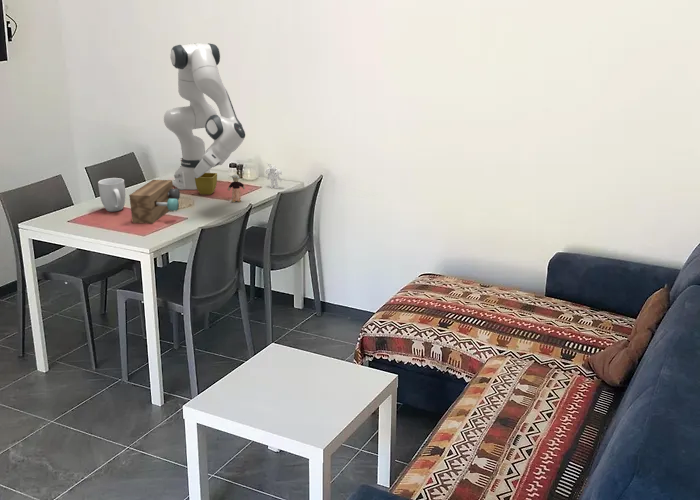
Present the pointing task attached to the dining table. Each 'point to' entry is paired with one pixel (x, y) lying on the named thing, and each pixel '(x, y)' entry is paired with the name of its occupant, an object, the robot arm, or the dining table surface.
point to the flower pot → (206, 183)
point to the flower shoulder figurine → (273, 175)
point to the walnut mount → (150, 201)
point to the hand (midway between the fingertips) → (196, 176)
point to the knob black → (174, 194)
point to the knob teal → (170, 204)
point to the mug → (112, 193)
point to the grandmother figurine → (236, 188)
